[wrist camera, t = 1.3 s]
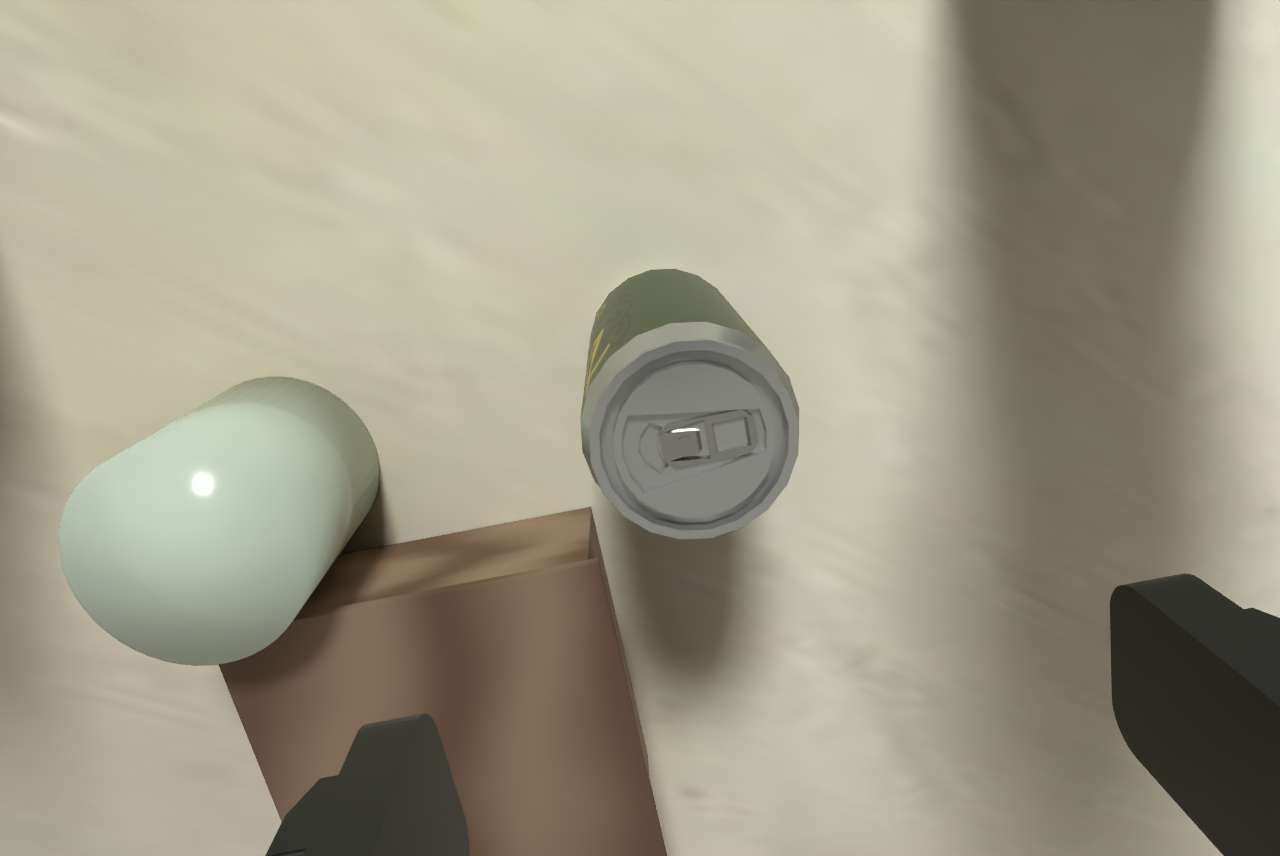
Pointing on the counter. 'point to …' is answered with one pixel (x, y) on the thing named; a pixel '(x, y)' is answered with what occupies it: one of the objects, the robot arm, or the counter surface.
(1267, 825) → the robot arm
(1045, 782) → the counter surface
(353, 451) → the pale green capsule
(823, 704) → the counter surface
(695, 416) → the beer can
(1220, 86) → the counter surface
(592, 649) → the podium
